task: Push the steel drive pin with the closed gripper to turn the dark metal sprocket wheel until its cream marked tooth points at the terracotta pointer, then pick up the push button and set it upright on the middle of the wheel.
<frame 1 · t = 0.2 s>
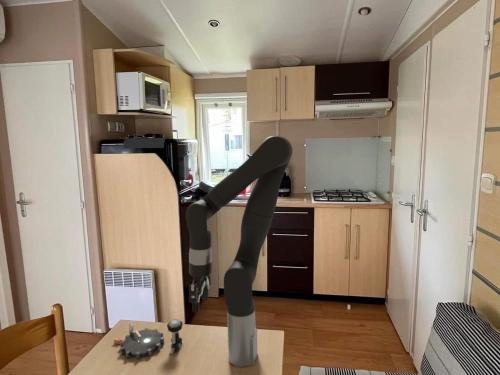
hand: (200, 305, 106), 17 cm above the table, tool pointing down, fingers open, 8 cm apart
push button: (175, 349, 110), on the table
sprocket wheel: (142, 337, 112), point 3 cm above the table, hinge at -40.0°
pointer block: (117, 342, 115), on the table
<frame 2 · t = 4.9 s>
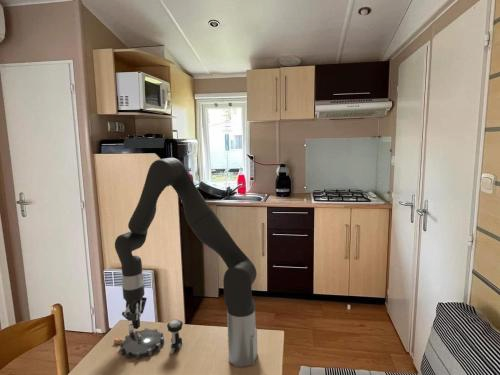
hand: (136, 327, 118), 3 cm above the table, tool pointing down, fingers closed
sprocket wheel: (142, 337, 112), point 3 cm above the table, hinge at -39.5°, touching gripper
everything else where it was.
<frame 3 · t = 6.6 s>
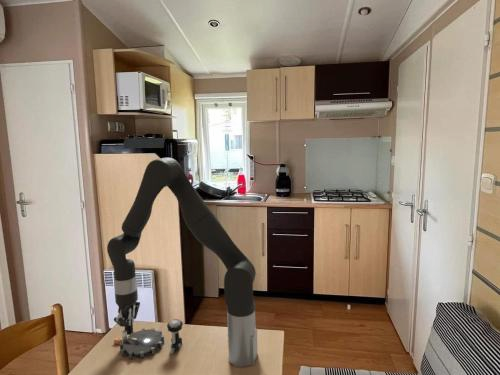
hand: (129, 333, 114), 3 cm above the table, tool pointing down, fingers closed
sprocket wheel: (142, 337, 112), point 3 cm above the table, hinge at 0.0°, touching gripper
everything else where it was.
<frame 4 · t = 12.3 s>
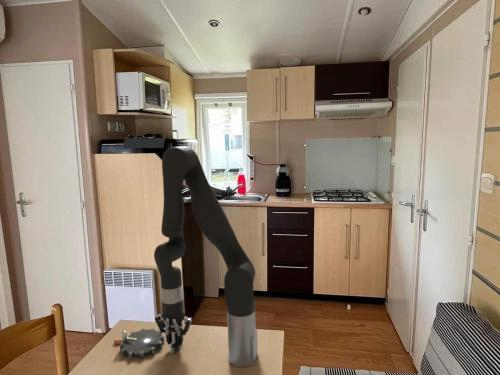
hand: (175, 343, 110), 2 cm above the table, tool pointing down, fingers closed on push button, 3 cm apart
push button: (175, 349, 110), on the table, touching gripper
sprocket wheel: (142, 337, 112), point 3 cm above the table, hinge at 0.1°
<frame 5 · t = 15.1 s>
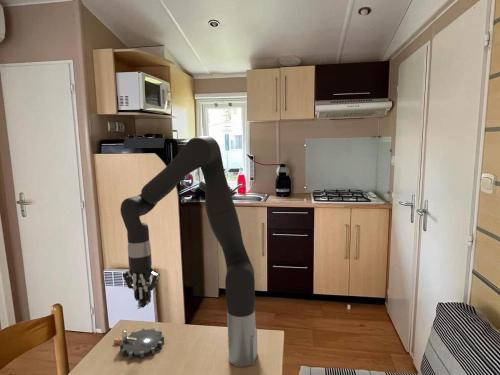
hand: (143, 299, 110), 18 cm above the table, tool pointing down, fingers closed on push button, 3 cm apart
push button: (143, 306, 111), point 15 cm above the table, touching gripper
everything else where it was.
when the fingers open (5 cm above the table, at t = 18.0 s): push button moves 1 cm, resting on sprocket wheel.
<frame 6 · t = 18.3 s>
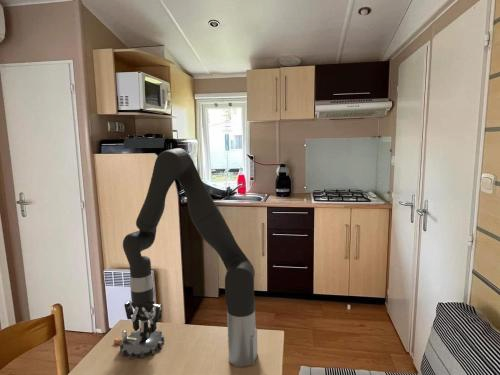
hand: (145, 330, 112), 6 cm above the table, tool pointing down, fingers open, 6 cm apart
push button: (143, 338, 113), point 2 cm above the table, touching sprocket wheel
sprocket wheel: (142, 337, 112), point 3 cm above the table, hinge at 0.1°, touching push button
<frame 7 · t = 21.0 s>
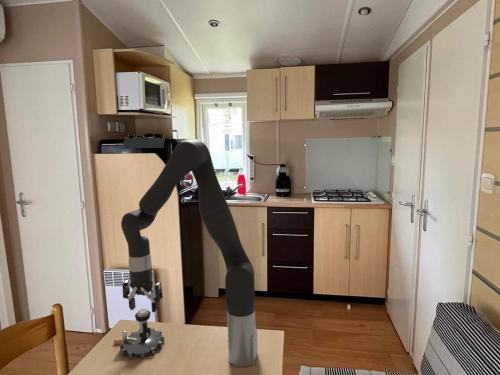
hand: (143, 310, 111), 14 cm above the table, tool pointing down, fingers open, 8 cm apart
nothing on the table moved.
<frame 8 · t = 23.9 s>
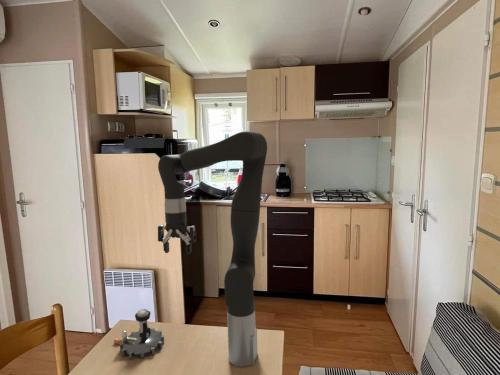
hand: (177, 253, 115), 32 cm above the table, tool pointing down, fingers open, 8 cm apart
nothing on the table moved.
at the end: sprocket wheel at +0° (first picture: -40°); push button inside the target area on the sprocket wheel (0.4 cm from its centre), point 2.1 cm above the sprocket wheel's base; push button tilted 0° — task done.
